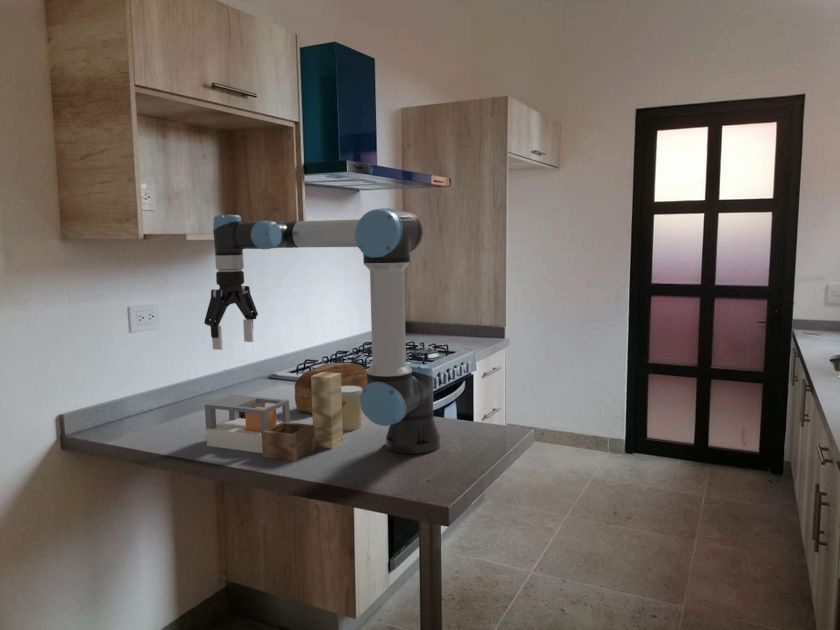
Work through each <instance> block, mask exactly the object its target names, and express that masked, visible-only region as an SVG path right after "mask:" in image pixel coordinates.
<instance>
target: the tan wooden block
mask: <svg viewBox="0 0 840 630" xmlns="http://www.w3.org/2000/svg"><path fill="white" fill-rule="evenodd" d="M311 388H312V413H311V414H312V425H314V436H315V448H317V447H318V448H324V449H334V448H336V447H337V446H340V445H341V444H343V443H344V430H343V422H342V392H341V373H329V372H321V373H318V374H316V375H313V376H311Z"/></svg>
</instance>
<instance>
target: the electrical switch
mask: <svg viewBox="0 0 840 630" xmlns="http://www.w3.org/2000/svg"><path fill="white" fill-rule="evenodd" d="M258 406H260V407H266V403H263V402H256V403H253V404H250V405H248V406H245V407H250V408H255V407H258ZM239 418H242V419H245V412H239Z"/></svg>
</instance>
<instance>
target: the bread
mask: <svg viewBox="0 0 840 630" xmlns="http://www.w3.org/2000/svg"><path fill="white" fill-rule="evenodd" d="M321 372H329V373H341V386H359V387H361V388H362V390H363V389H364V388H365V386H366V385H367V369H366V368H365V367H364V366H363V365H360V364H356V363H352V362H335V363H328V364H327V363H326V364H323V365H319V366H318V367H315V368H312V369H310V370H307V371H305V372H304V373H303V374H301V375H300V376H299V378H298V379H297V380H296V381H295V384H294V401H295V407H296V409H297V410H299V411H300V412H304V413H306V414H307V413H309V414H312V388H311V376H313V375H316V374H318V373H321Z"/></svg>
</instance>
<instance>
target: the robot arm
mask: <svg viewBox="0 0 840 630" xmlns="http://www.w3.org/2000/svg"><path fill="white" fill-rule="evenodd" d="M212 233H213V241H214V256H215V269H216V270H217V271H216V273H215V277H216V280H215V281H216V283H215V284H216V285H218V286H219V287H218V288H219V289H217V288H216V289H213V288H212V289H211V290H210V299H209V303H208V305H207V311H206V314H205V317H204V325H206V326H209V327H210V336H211V339H212V340H211V341H212V350H218V351H219V350H220V351H221V350H223V336H222V335H223V334H222V325H220V323H221V321H222V319H223V317H224V314H225V313H226V311H227V308H228V307H229V306H230V305H234V304H235V305H236V306H237V308H238V309H239V311H240V313H242V316H243V317H244V319H243V320H242V321H243V322H242V323H243V326H242V327H243V341H244V343H253V342H254V320H257V317H258V315H259V313H258V310H257V307H256V304H255V303H254V300H253V296H252V295H251V288H250V286H249V285H244V283H245V273H244V271H243V269H244V267H245V265H244V255H243V254H244V253H243V252H244V250H271V249H290V248H291V249H295V248H298V249H299V248H358V249H359V250H360V251H361V253H362V257H363V265H364V266H365V267H366V268H367V269H368V271H369V281H370V283H369V284H370V288H369V289H370V290H369V291H370V319H371V320H370V322H371V323H370V324H371V354H372V355H371V357H372V358H371V359H372V360H371V361H372V364H371V365H370V366H369V368H368V369H366V371H367V385H366V386H365V388H364V389H363V390H362V392H361V395H360V406H361V409H362V414H364V416H365V417H367V419H368V420H369V421H370V422H371V423H373V424H375V425H378V426H382V427H384V426H385V427H387V426H388V431H387V434H386V437H385V448H386V449H387V450H389V451H391V452H394V453H398V454H403V455H404V454H405V455H419V454H425V453H430V452H433V451H436V450H438V449H439V448H440V447H441V437H440V432H439V429H438V427H437V424H436V422H435V419H434V418H435V417H434V375H433V368H432V366H431V365H429V364H423V363H407V352H406V351H407V349H406V346H407V345H406V342H407V341H406V304H405V303H406V301H405V300H406V299H405V298H406V296H405V269H406V267H408V266H409V265H410V263H411V253H412V252H413V251H415V250H416V249H418V247H419V245H420V244H421V243H422V240H423V234H424V229H423V225H422V223H421V220H420V219H419V218H418V216H417V215H416V214H414V213H413V212H411V211H409V210H406V209H396V208H395V209H393V208H384V207H382V208H376V209H375V208H374V209H372V210H369V211H367V212H365V213H364V214H363V215H362V217H360V219H357V218H356V219H331V220H329V219H328V220H303V221H302V220H300V221H297V220H296V221H294V220H293V221H272V220H255V221H254V220H253V221H251V220H250V221H242V217H241V216H240V215H239V214H217V215H215V216H214V218H213V229H212Z"/></svg>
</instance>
